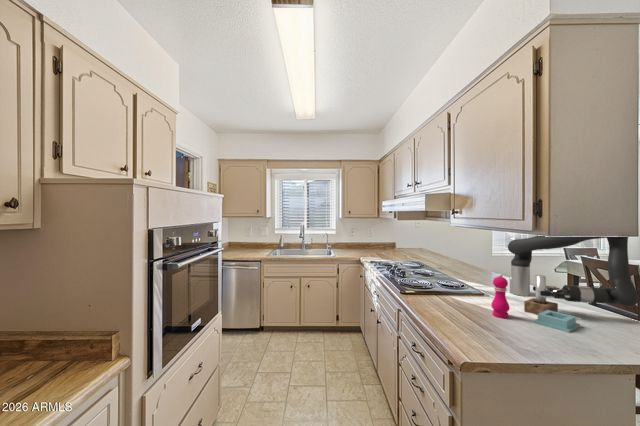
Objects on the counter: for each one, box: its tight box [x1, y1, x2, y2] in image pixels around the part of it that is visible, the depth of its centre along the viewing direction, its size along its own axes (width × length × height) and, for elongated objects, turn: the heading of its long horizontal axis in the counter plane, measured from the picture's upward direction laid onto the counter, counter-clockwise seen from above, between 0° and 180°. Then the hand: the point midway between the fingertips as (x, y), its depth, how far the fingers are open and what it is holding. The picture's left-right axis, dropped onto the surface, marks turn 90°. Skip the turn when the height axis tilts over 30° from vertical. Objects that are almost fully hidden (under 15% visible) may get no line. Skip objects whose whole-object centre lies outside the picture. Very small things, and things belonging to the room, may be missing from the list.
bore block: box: [523, 297, 559, 316], centre depth 135 cm, size 10×10×5 cm
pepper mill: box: [491, 273, 511, 319], centre depth 130 cm, size 7×7×20 cm
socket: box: [533, 310, 581, 333], centre depth 120 cm, size 12×12×4 cm
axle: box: [535, 274, 547, 305], centre depth 135 cm, size 4×4×18 cm
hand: (536, 290), depth 135 cm, fingers open, 8 cm apart
